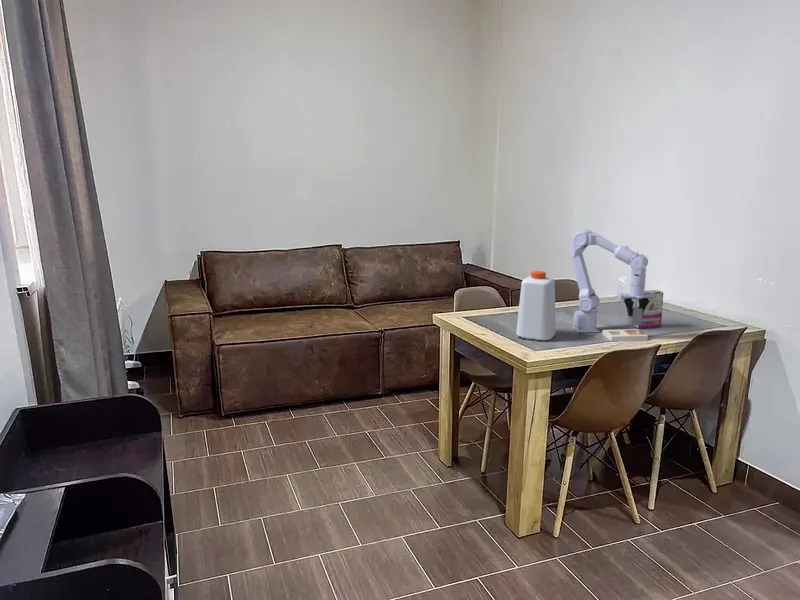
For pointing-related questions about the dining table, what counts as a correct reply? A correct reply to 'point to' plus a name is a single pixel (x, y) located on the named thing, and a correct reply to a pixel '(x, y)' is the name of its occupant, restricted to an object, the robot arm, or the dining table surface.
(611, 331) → the shallow wooden tray
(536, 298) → the plastic bottle
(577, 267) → the robot arm
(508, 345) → the dining table surface
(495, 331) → the dining table surface
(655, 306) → the candy bar box
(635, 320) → the steel block
